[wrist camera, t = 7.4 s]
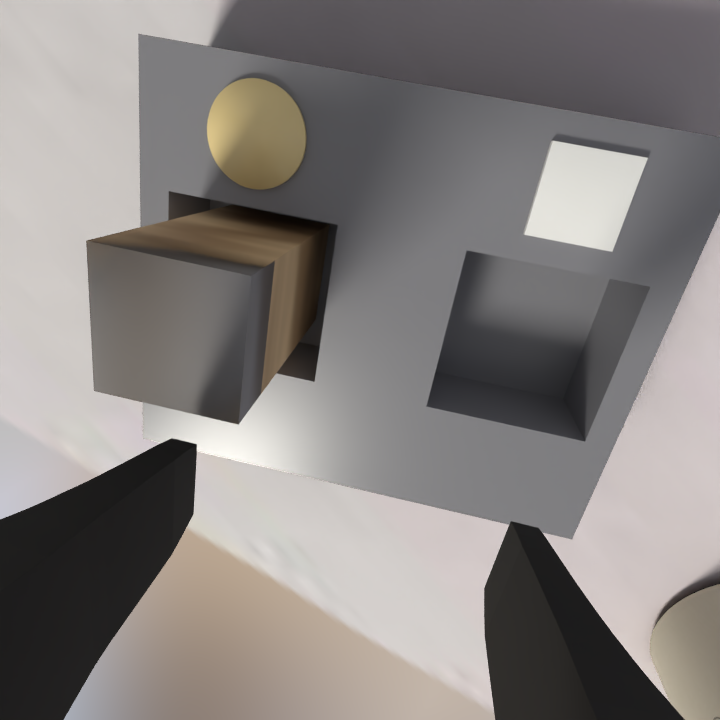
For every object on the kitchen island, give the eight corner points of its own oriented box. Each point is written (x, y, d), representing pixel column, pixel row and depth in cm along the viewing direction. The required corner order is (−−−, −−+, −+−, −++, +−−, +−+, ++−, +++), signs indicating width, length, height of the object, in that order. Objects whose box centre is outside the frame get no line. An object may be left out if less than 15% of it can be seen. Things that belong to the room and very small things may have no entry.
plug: (329, 224, 17) (251, 276, 10) (315, 319, 19) (238, 424, 12) (231, 204, 18) (85, 241, 10) (225, 300, 19) (94, 390, 12)
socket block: (678, 145, 16) (755, 142, 12) (548, 472, 21) (573, 543, 17) (203, 59, 17) (134, 32, 13) (191, 391, 22) (140, 441, 18)
